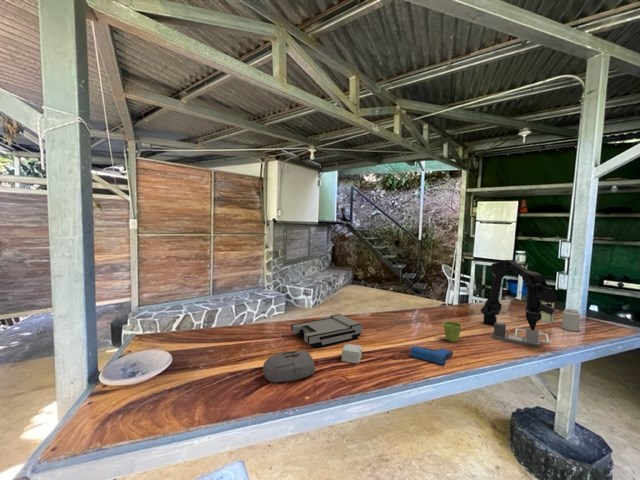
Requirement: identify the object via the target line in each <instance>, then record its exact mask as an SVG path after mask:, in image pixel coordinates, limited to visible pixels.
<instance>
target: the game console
mask: <svg viewBox="0 0 640 480" xmlns="http://www.w3.org/2000/svg"><path fill="white" fill-rule="evenodd" d="M290 331H291V332H293V333H294V334H295V335H297V336H298V337H300V338H302V339H303V341H304V342H305V343H307V344H308V345H311V346H312V347H314V348H315V349H320V348H325V347H330V346H335V345H339V344H342V343H347V342H352V341H354V340H358V338H359V337H361V334H362V333H363V324H362V323H360V322H358V321H356V320H354V319H353V318H352V319H351V318H350V317H347V316H345V315H344V314H341V313H340V314H338V313H337V314H333V315H330V317H328V318H320V319H315V320H310V321H309V320H308V321H304V322H298V323H292V324H290Z"/></svg>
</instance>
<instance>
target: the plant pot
mask: <svg viewBox="0 0 640 480" xmlns="http://www.w3.org/2000/svg"><path fill="white" fill-rule="evenodd" d="M442 325H443V327H444V335H445V336H444V337H445V340H446V341H448V342H451V343H452V342H453V343H457V342H459V339H460V333H461V329H462V327H463V324H461V323H459V322H456V321H450V320H445V321H443V322H442Z"/></svg>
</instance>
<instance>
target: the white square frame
mask: <svg viewBox="0 0 640 480" xmlns="http://www.w3.org/2000/svg"><path fill="white" fill-rule="evenodd" d="M518 332H523V333H526V329H521V328H515V332H514V335H516V336H519V337H524V338H526V336H522V335H518ZM539 335H540V336H544V337H545V339H546V340H544V339H543V340H542V339H538V340H539V343H543V344H548V345H549V344H550V339H549V335H548V333H544V332H539V334H538V336H539Z"/></svg>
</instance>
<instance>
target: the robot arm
mask: <svg viewBox="0 0 640 480" xmlns="http://www.w3.org/2000/svg"><path fill="white" fill-rule="evenodd" d="M509 270H511V271H513V272H514V273H516V274H517V275H518V276H519V277H521V279H522V281H523V282H525V284H524V285H523V288H525V289H526V301H525V302H526V303H525V319H526V321H527V324H528V325H529V328H531V330H534V329H536V325H537V322H538V320H541V313H540V312H541V311H543V312H546V313H548V314H549V315H553V313H554V314H555V311H556V308H555V307H554V308H553V307H551V304H549V303H547V304H543V303H541V300H543V301H546V302H550V303H553V302H554V303H555V302H556V301H557V299H558V295H557V293H556V292H555V291H554V288H553V287H549V285H548V283H547V281H546V280H545V278H544V275H542V274H541V273H538V272H536V271H532V270H530V269H528V268H526V267H524V266H523V265H521V264H520V263H517V262H516V261H515V260H513V259H504V260H502V261H499V262H494V263H492V264H491V266H490V273H491V275H492V280H491V284H490V291H489V296H488V299H487V300H486V301H485V302H484V305H483V307H482V308H481V309H480V313H481V314H483V321H482V324H483V325H488V326H494V324H495V322H498V321H497V319H498V315H500V312H501V310H502V306H503V305H502V303H501V302H500V300H499V298H500V294H501V290H502V289H501V288H502V282H503V279H504V278H505V276H506V275H507V273H508V271H509Z"/></svg>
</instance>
